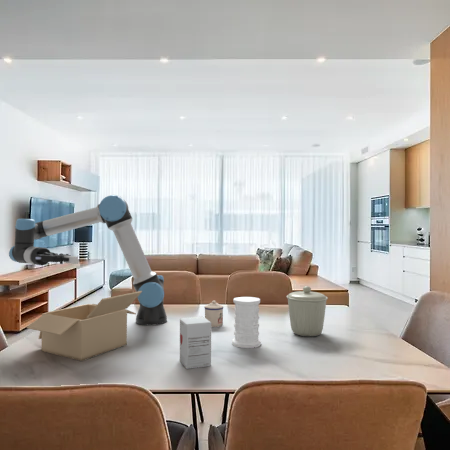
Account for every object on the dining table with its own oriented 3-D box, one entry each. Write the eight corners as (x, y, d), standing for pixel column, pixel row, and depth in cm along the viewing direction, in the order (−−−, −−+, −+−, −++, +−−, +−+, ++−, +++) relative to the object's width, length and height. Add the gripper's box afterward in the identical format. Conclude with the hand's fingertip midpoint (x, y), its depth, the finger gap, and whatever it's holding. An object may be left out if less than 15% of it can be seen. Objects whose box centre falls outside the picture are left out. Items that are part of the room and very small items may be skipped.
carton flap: (86, 317, 134) (102, 298, 130) (126, 307, 151) (141, 290, 147) (87, 318, 134) (102, 299, 130) (127, 308, 151) (142, 291, 147)
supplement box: (178, 360, 134) (179, 318, 135) (203, 357, 138) (203, 316, 138) (186, 369, 126) (186, 324, 126) (211, 366, 129) (211, 321, 129)
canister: (296, 326, 183) (296, 282, 183) (333, 332, 172) (333, 285, 172) (279, 334, 168) (279, 286, 168) (318, 342, 158) (318, 290, 158)
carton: (16, 354, 139) (16, 315, 140) (95, 331, 171) (95, 299, 172) (63, 367, 127) (63, 324, 127) (139, 340, 159) (139, 305, 159)
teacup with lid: (221, 327, 179) (221, 302, 179) (202, 327, 180) (202, 302, 181) (225, 321, 191) (225, 298, 191) (207, 321, 192) (207, 297, 192)
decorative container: (256, 349, 147) (256, 302, 148) (228, 346, 151) (228, 300, 152) (264, 341, 158) (264, 297, 158) (237, 338, 162) (237, 295, 162)
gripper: (50, 263, 169) (88, 268, 158) (23, 265, 158) (62, 271, 147) (51, 246, 169) (89, 250, 158) (24, 247, 158) (62, 251, 147)
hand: (76, 260), depth 152 cm, fingers closed
